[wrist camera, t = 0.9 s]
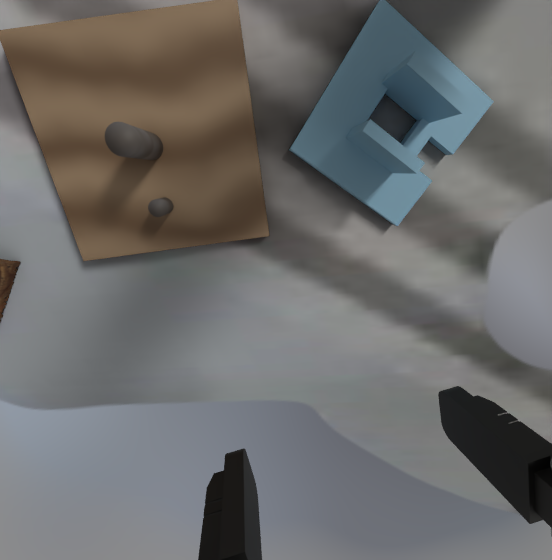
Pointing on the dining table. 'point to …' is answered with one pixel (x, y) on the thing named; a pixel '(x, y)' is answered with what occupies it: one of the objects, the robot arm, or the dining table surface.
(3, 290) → the bird sculpture
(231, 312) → the dining table surface
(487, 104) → the flange plate
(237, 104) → the post board
